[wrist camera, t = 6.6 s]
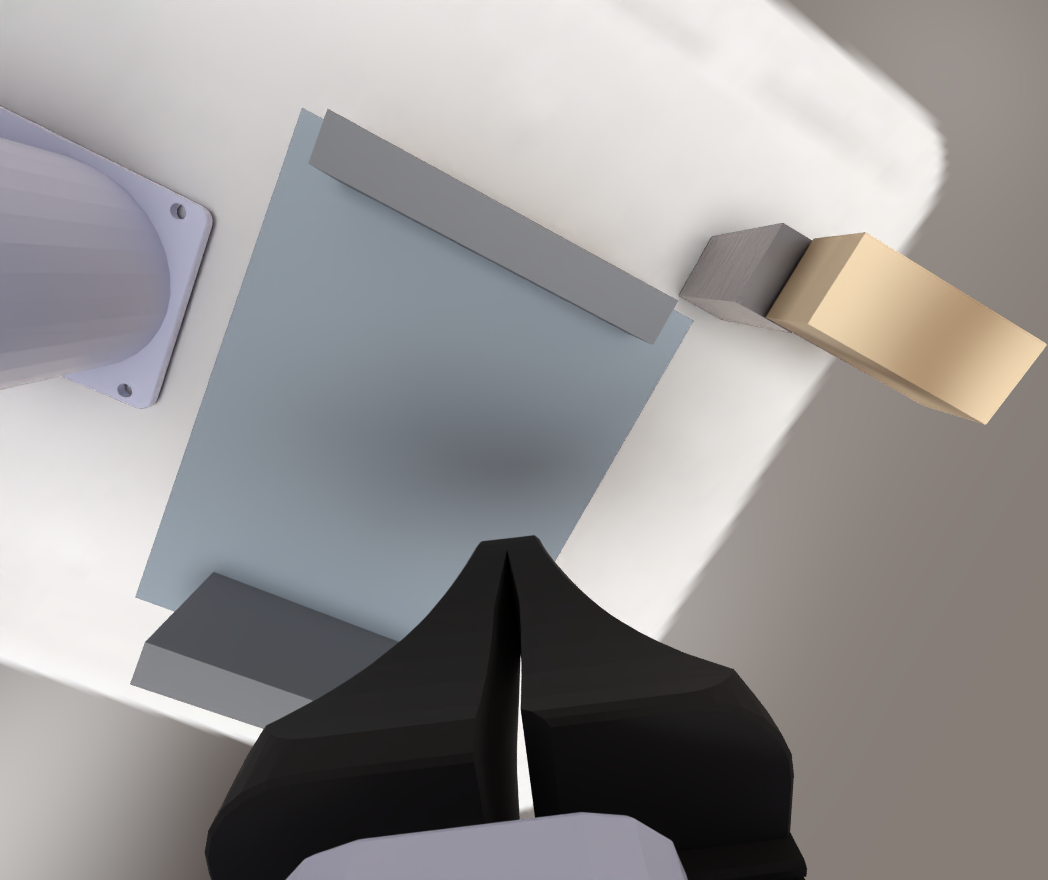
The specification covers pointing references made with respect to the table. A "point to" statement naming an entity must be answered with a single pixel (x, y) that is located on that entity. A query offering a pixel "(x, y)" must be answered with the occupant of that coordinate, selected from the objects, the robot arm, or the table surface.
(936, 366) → the tan wooden block
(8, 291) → the robot arm
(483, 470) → the lid
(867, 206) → the table surface
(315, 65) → the table surface
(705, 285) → the block
